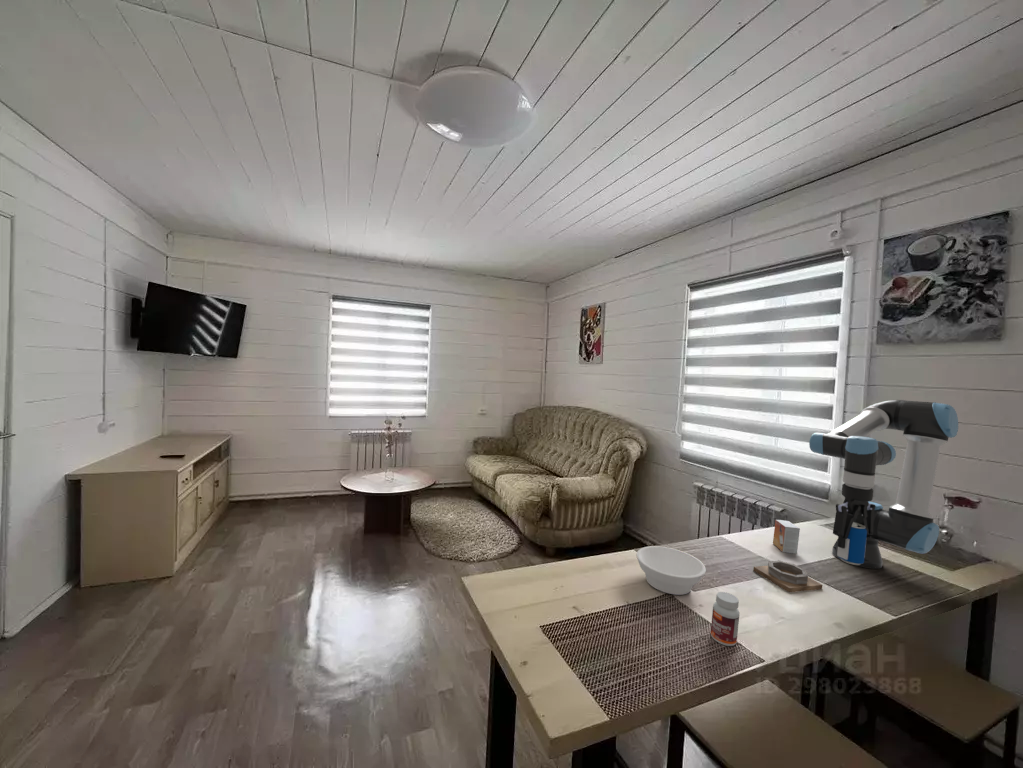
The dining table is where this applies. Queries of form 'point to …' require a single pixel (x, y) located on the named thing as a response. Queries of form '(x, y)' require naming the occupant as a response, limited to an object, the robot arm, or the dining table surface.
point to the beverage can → (856, 544)
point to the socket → (787, 576)
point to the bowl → (670, 569)
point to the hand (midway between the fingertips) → (850, 556)
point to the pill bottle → (725, 619)
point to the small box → (786, 536)
